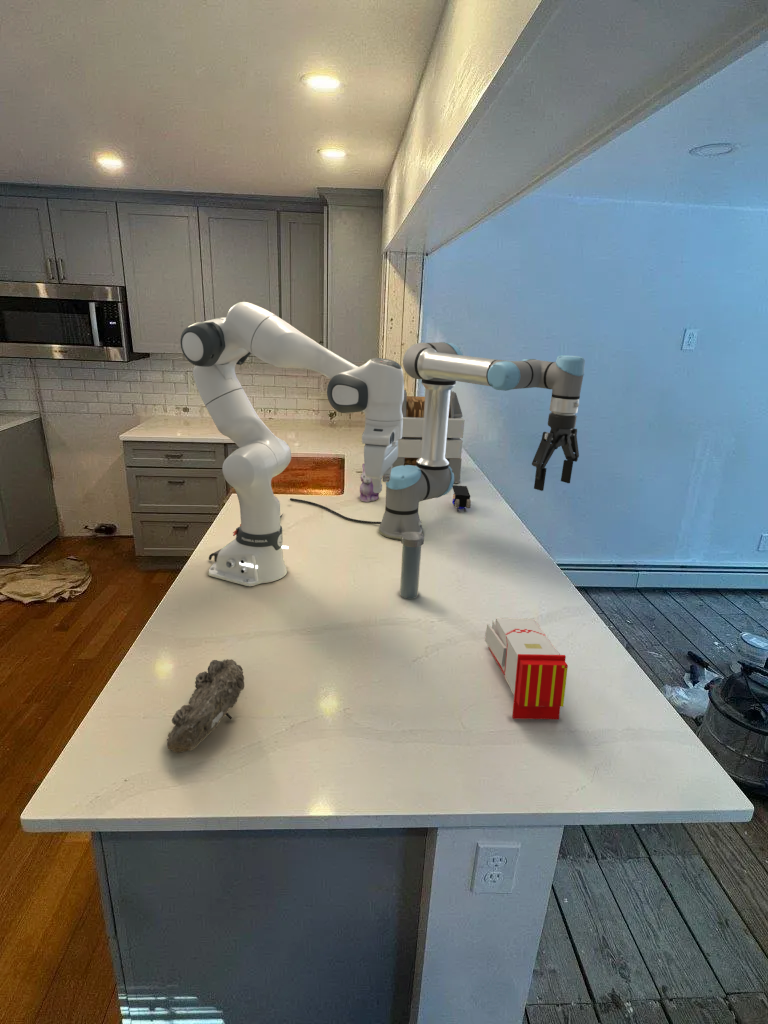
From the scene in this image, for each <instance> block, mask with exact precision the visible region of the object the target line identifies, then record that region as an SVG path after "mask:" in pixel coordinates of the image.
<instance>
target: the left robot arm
mask: <svg viewBox="0 0 768 1024" xmlns="http://www.w3.org/2000/svg"><path fill="white" fill-rule="evenodd" d="M179 343H180V344H179V345H180V348H181V352H182V354H183V356H184V358H185V359H186V360H187V362H189V363H190V364H191V365H193V366H194V367H193V371H192V376H193V379H194V383H195V385H196V389H197V392H198V393H199V396H200V398H201V400H202V402H203V405H204V406H205V408H206V410H207V412H208V414H209V416H210V417H211V419H212V421H213V422H214V424H215V426H216V429H217V430H218V432H219V433H220V434H221V435H223V436H225V437H227V438H229V439H230V440H231V441H232V442H234V444H235V445H236V446H237V447H238V448H236V449H235V450H234V451H232V452H231V453H230V454H229V455H228V456H227V457H225V459H224V460H223V463H222V468H221V469H222V475H223V478H224V480H225V482H227V484H228V485H229V486H231V487H232V488H233V489H234V491H235V493H236V497H237V499H238V503H239V513H240V514H239V515H240V524H239V526H237V528H236V529H235V530H234V531H233V532H232V536H233V537H235V538H234V539H232V540H231V541H230V542H228V543H227V544H226V545H224V546H223V547H222V548H220V549H218V550H216V551H214V552H212V553H210V554H209V556H208V560H209V561H212V560H213V561H214V562H213V563H212V564H211V566H210V567H209V569H208V576H209V577H212V578H216V579H219V580H223V581H227V582H231V583H235V584H238V585H242V586H246V587H255V586H258V585H262V584H267V583H272V582H276V581H278V580H280V579H282V578H284V577H285V576H286V575H287V573H288V568H287V566H286V563H285V559H284V552H283V549H285V550H289V546H288V545H283V543H284V535H283V526H282V525H281V519H280V516H281V501H280V500H279V498H278V497H277V496H276V495H275V493H274V491H273V488H272V487H273V486H272V480H273V478H275V477H277V476H278V475H280V474H282V473H283V472H284V471H285V470H286V468H287V467H288V466H289V464H290V463H291V461H292V450H291V448H290V445H289V444H288V443H287V442H286V441H285V440H284V439H283V438H280V437H278V436H277V435H276V434H274V433H273V432H272V431H271V429H270V428H269V427H268V426H267V425H266V424H265V423H264V421H263V420H262V419H261V418H260V416H259V415H258V413H257V411H256V409H255V408H254V406H253V404H252V403H251V401H250V399H249V396H248V395H247V393H246V390H245V389H244V388H243V385H242V384H241V382H240V380H239V379H238V376H237V374H236V365H237V366H243V364H244V363H245V362H246V361H247V359H248V358H249V357H250V356H251V355H253V356H254V357H255V358H257V359H259V360H260V361H262V362H263V363H266V364H268V365H271V366H272V367H276V368H279V369H299V370H300V369H301V370H309V371H312V372H316V373H318V374H321V375H323V376H324V377H326V378H328V379H329V382H328V384H327V387H326V396H327V400H328V402H329V404H330V406H331V407H332V409H333V410H335V411H336V412H338V413H340V414H354V413H359V412H360V413H364V417H365V418H364V430H363V432H362V434H361V444H362V445H364V446H363V464H364V468H365V474H366V477H367V478H372V483H373V492H374V493H379V494H380V493H381V492H382V491H383V484H382V482H383V483H386V482H389V481H390V476H391V470H392V464H393V463H394V462H395V461H396V460H397V457H398V440H400V439H402V431H403V414H402V404H403V401H404V390H405V378H404V371H403V367H402V365H400V363H398V362H397V361H395V360H393V359H389V358H382V357H373V358H370V359H368V360H367V362H365V363H364V364H362V365H359V364H357V363H355V362H352V361H351V360H349V359H348V358H345V357H344V356H342V355H341V354H338V353H337V352H335V351H334V350H332V349H330V348H328V347H326V346H324V345H323V344H321V343H319V342H317V341H315V340H314V339H313V338H311V337H309V336H308V335H306V334H305V333H303V332H302V331H300V330H299V329H297V328H296V327H295V326H293V325H292V324H290V323H288V322H287V321H286V320H284V319H282V318H281V317H279V316H278V315H277V314H275V313H273V312H272V311H269V310H267V309H266V308H263V307H261V306H259V305H257V304H254V303H252V302H248V301H240V302H237V303H235V304H233V305H232V306H231V307H230V309H229V310H228V312H227V314H226V317H215V318H212V319H208V320H205V321H198V322H195V323H192V324H190V325H189V326H187V327H186V328H184V329H183V330H182V332H181V335H180V341H179ZM212 558H213V559H212Z"/></svg>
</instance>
